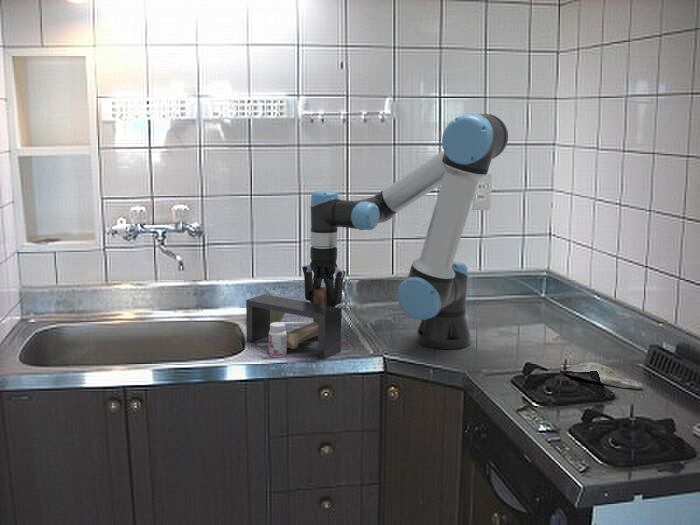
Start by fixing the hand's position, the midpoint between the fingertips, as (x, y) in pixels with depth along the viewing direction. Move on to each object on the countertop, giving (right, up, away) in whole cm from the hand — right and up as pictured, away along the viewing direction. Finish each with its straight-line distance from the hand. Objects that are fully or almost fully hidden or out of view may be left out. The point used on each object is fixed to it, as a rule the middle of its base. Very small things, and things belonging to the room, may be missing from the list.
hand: (322, 326), depth 218 cm
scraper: (-4, -2, -7) cm, 8 cm away
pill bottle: (-11, -6, -17) cm, 22 cm away
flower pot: (-16, 0, +12) cm, 20 cm away
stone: (+70, -11, -31) cm, 77 cm away
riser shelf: (-8, -5, -10) cm, 14 cm away
